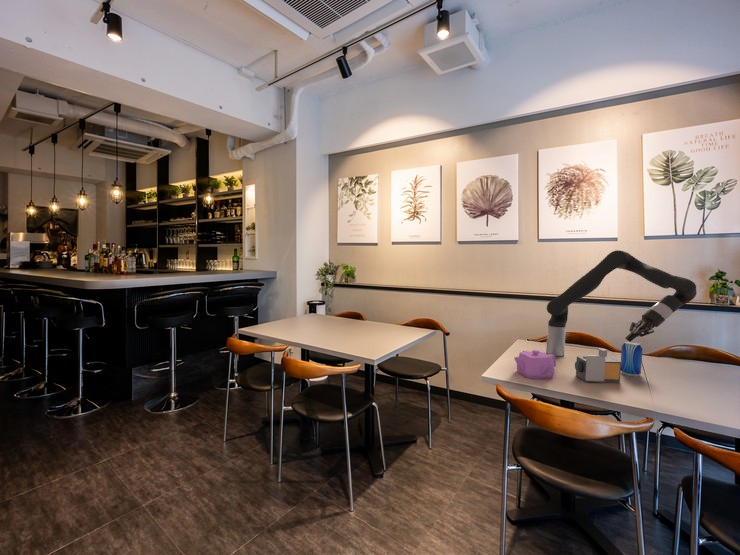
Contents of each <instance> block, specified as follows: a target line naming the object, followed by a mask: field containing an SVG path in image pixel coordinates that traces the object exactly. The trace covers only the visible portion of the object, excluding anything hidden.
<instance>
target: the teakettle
mask: <svg viewBox="0 0 740 555" xmlns="http://www.w3.org/2000/svg"><path fill="white" fill-rule="evenodd" d="M513 359H514V361H515V363H516V371H517V373H518V374H520V375H521V376H524V377H525V378H526V379H529V380H543V379H553V378H554V375H555V367H556V356H555V355H550V354H546V352H545V353H544V352H542V351H540V350H537V349H533V350H532V351H529V350H522V351H521V352H519V355H518V356H514V357H513Z"/></svg>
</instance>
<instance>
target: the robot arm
mask: <svg viewBox="0 0 740 555" xmlns="http://www.w3.org/2000/svg"><path fill="white" fill-rule="evenodd" d="M616 269H620V270H621V269H622V270H625V271H627V272H632V273H634V274H636V275H637V276H640V277H642V278H643V279H645V280H646V281H648V282H650V283H652V284H654V285H656V286H657V287H660V288H662V289H666V290H667V289H673V290H675V292H674V293H672V294H668V295H665V296H663V297H662V298H661V299H660V300H659V301H657V303H655V304H654V305H652V306H651V307H650V308H649V309H647V310H646V311H645V312H644V313H643V314H642V315H641V319H639V320H637V322H634V321H633V322H631V323H630V326H629V332H630V333H628V335H626V336H625V340H626V341H629V342H633V341H634V340H635V339H636V338H638V337H641V338H642V337H644V336H647V335H650V334H653V333H655V330H654V328H658V327H660V326H661V324H663V323H665V321H666V320H668V319H669V318H670V317H671V316H672V315H673V314H674V312H676V311H677V310H678V309H679V308H681V307H682V306H685V305H686V304H688V303H691V301H693V299H694V298H696V296H697V294H698V293H697V284H696V282H694V281H693V280H691V279H688V278H686V277H682V276H677V275H672V274H671V273H669V272H666V271H664V270H662V269H660V268H657V267H654V266H652V265H649V264H647V263H645V262H642V261H641V260H639V259H637V258H636V257H635V256H633V255H631V254H630V253H629V252H627V251H624V250H621V249H616V250H612V251H611V252H609V253H608V254H606V256H605V257H604V258H603V259H601V261H600V262H599V263H598V264H597V265H596V266H594V267H593V268H591V269H590V270H589V271H588V272H587V273H585V274H584V275H582V276H581V277H580V278H579V279H577V280H576V281H574V283H573V284H571V286H569V287H568V288H567V289H566V290H565V291H564V292H562V293H561V294H559V295H558V296H557V297H555V298H553V299H551V300H550V301H549V302H548V303H547V305H546V311H547V313H548V314H549V315H551V317H550V319H549V320H548V323H547V326H548V327H547V337H546V349H545V354H550V355H555V357H564V356H565V348H566V347H565V346H566V330H567V328H566V326H567V322H568V315H569V306H571V305H572V303H575V302H576V301H578V300H580V299H582V298H584V297H586V296H588V295H589V294H591V293H592V292H593V291H595V290H596V289H597V288H598V287H600V285H601V283H602V281H603V280H604V279H605V277H606V276H607V275H609V274H610V273H611V272H613V271H614V270H616Z"/></svg>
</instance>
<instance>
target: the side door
mask: <svg viewBox="0 0 740 555" xmlns="http://www.w3.org/2000/svg"><path fill="white" fill-rule="evenodd" d="M585 356H586V375H585V380H586V381H604V375H605V357H608V350H607V349H605V348H598V354H597V355H596V354H595V355H594V354H586V355H585Z"/></svg>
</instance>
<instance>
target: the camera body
mask: <svg viewBox="0 0 740 555" xmlns="http://www.w3.org/2000/svg"><path fill="white" fill-rule="evenodd" d="M574 369H575V377H576V378H578V379H580V380H581V381H583V382H584V383H608V384H620V383H621V373H622V372H621V360H618V359H615V358H613V357H612V356H607V357H605V375H604V381H586V380H585V375H586V355H580V356H579V355H577V356H576V361H575V363H574Z"/></svg>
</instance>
